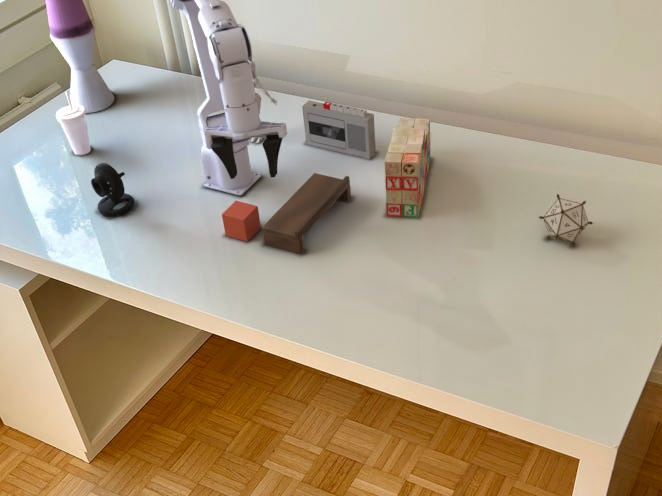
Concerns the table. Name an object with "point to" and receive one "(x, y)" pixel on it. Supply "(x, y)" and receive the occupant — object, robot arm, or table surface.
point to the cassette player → (339, 128)
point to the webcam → (110, 191)
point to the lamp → (78, 53)
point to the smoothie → (75, 126)
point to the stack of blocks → (407, 167)
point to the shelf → (304, 211)
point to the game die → (566, 220)
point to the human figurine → (258, 97)
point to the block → (241, 220)
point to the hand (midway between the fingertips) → (253, 175)
